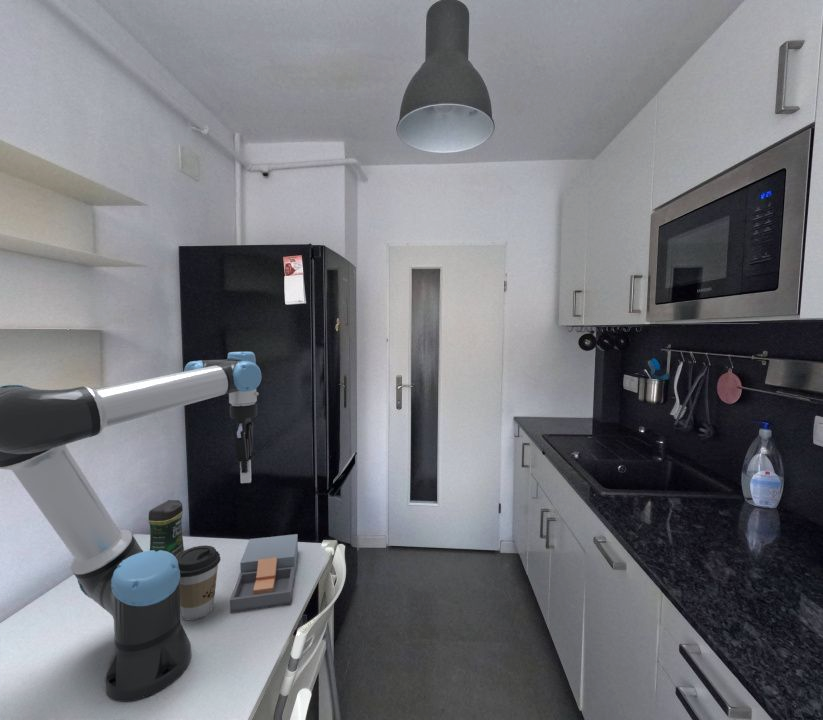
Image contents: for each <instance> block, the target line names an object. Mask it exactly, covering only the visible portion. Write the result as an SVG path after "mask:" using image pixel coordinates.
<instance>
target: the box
mask: <svg viewBox="0 0 823 720" xmlns="http://www.w3.org/2000/svg"><path fill="white" fill-rule="evenodd" d="M256 576H257V571H255V572H246V573H241V572H240V573H239V575H238V577H237V581H236V582H235V585H234V589H232V593H231V596H230V598H229V613H230V614H235V613H241V612H242V613H243V612H249V611H256V610H263V609H271V608H275V607H276V608H277V607H284V606H289V605H290V606H291V605H292V600H293V598H292V597H293V591H294V583H295V576H294V567H287V568H279V569H277V572H276V579H275V589H274V592H272V593H265V594H258V595H253V589H254V585H255V582H256V579H257V578H256Z"/></svg>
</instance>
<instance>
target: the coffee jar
mask: <svg viewBox="0 0 823 720" xmlns="http://www.w3.org/2000/svg"><path fill="white" fill-rule="evenodd" d="M183 513H184V510H183V503H182V501H180V500H179V499H167V500H166V501H164V502H163V503H160V504H158V505H157V506H155V507H154V508H152V509H150V510H149V511H148V517H147V518H148V523H149V533H150V535H149V537H150V539H149V551H151V550H155V552H157V551H159V550H162V551H167V552H169V553H171V554H173V555H174V556H175V557H177V556H178V555H179V554H180V553H182V552H183V551H185V548H184V547H185V546H184V537H183V529H182V528H183V527H182V519H183Z"/></svg>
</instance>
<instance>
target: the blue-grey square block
mask: <svg viewBox="0 0 823 720" xmlns="http://www.w3.org/2000/svg"><path fill="white" fill-rule="evenodd" d="M248 539H249V538H248ZM298 540H299V538H298V533H294V534H287V535H285V534H284V535H277V536H270V537H269V536H267V537H257V538H250V539H249V540H248V542H247V545H246V547H245V550H244V553H243V555H242V557H241V560H240V562H239V563H240V564H239V565H240V568H239V569H240V571H239V572H240V573H246V572H255V571H257V567H258V559H266V558H274V557H277V569H279V568H287V567H294V577H295V576H296V570H297V560H298V554H299V553H298V552H299V550H298V549H299V541H298Z"/></svg>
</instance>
